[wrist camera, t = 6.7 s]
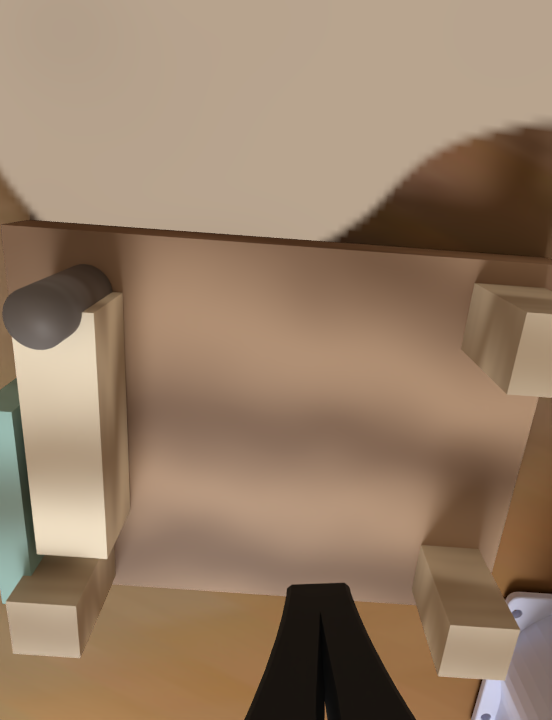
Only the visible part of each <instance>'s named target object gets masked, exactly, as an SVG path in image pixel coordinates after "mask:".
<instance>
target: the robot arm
mask: <svg viewBox="0 0 552 720" xmlns="http://www.w3.org/2000/svg"><path fill="white" fill-rule="evenodd" d="M505 601H506V603H507V605H508V607H509V609H510V611H511V613H512V615H513V617H514V618H515V620H516V622H517V624H518V626H519V628H520V633H519V636H518V639H517V643H516V646H515V649H514V652H513V656H512V659H511V662H510V665H509V669H508V672H507V675H506V678H505V681H502V680H487V679H483V680H482V684H481V687H480V691H479V694H478V698H477V701H476V705H475V708H474V711H473V715H472V718H471V720H552V594H545V593H531V592H513V593H510V594H509V595H508V596H507V598H506V600H505ZM514 610H516V611H514ZM325 706H326V712H327V719H328V720H416V719H415V717H414V716H413V714H412V713H411V711H410V709H409V708H408V706H407V705H406V703H405V701H404V700H403V698H402V696H401V695H400V693H399V691H398V690H397V688H396V686H395V685H394V683H393V681H392V679H391V678H390V676H389V674H388V672H387V670H386V669H385V667H384V665H383V663H382V661H381V659H380V657H379V655H378V653H377V652H376V650H375V648H374V646H373V644H372V642H371V640H370V638H369V636H368V634H367V631H366V629H365V627H364V625H363V623H362V620H361V618H360V616H359V613H358V611H357V608H356V606H355V603H354V600H353V597H352V594H351V591H350V587H349V586H348V585H347V584H346V583H319V584H293V585H291V586H289V587H288V588H287V592H286V600H285V605H284V610H283V615H282V619H281V622H280V626H279V630H278V633H277V637H276V640H275V643H274V646H273V649H272V651H271V654H270V657H269V660H268V663H267V666H266V669H265V672H264V674H263V677H262V679H261V682H260V684H259V687H258V689H257V691H256V694H255V696H254V699H253V701H252V704H251V706H250V708H249V711H248V713H247V715H246V717H245V719H244V720H324V716H325Z"/></svg>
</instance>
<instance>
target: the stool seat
mask: <svg viewBox="0 0 552 720" xmlns="http://www.w3.org/2000/svg"><path fill="white" fill-rule="evenodd" d="M1 234H2V243H3V252H4V261H5V270H6V279H7V288H8V296H9V295H10V294H11V293H12V292H14V291H15V290H17V289H20V288H22V287H24V286H27V285H29V284H32V283H34V282H36V281H39V280H41V279H44V278H46V277H48V276H51V275H53V274H56V273H58V272H60V271H63V270H65V269H68V268H70V267H72V266H75V265H79V264H87V265H92V266H94V267H96V268H98V269H99V270H101V271H102V272H103V273H104V274H105V275H106V276H107V278H108V279H109V281H110V283H111V286H112V292H118V293H123V320H124V348H125V376H126V404H127V433H128V461H129V489H130V512H129V514H128V516H127V518H126V520H125V523H124V525H123V527H122V529H121V531H120V533H119V535H118V538H117V540H116V542H115V544H114V546H113V548H112V550H111V552H110V555H109V557H108V559H99V558H84V557H70V556H55V555H40V554H37V550H36V542H35V533H34V524H33V515H32V507H31V498H30V489H29V480H28V472H27V463H26V454H25V445H24V437H23V428H22V419H21V410H20V402H19V393H18V384H17V378H16V379H14V380H13V381H12V382H10V383H9V384H8V385H6V386H5V387H4V388H2V389H1V390H0V590H1V597H2V603H3V604H6V607H7V614H8V621H9V628H10V635H11V642H12V648H13V654H27V655H42V656H56V657H71V658H81V655H82V653H83V651H84V648H85V646H86V644H87V641H88V639H89V637H90V634H91V632H92V630H93V627H94V625H95V623H96V620H97V618H98V616H99V613H100V611H101V609H102V606H103V604H104V602H105V599H106V597H107V595H108V592H109V590H110V588H111V585H112V584H115V585H130V586H145V587H159V588H174V589H188V590H203V591H218V592H232V593H247V594H261V595H276V596H286V592H287V588H288V587H289V586H291V585H293V584H319V583H346V584H347V585H348V586H349V587H350V591H351V594H352V597H353V600H354V601H364V602H378V603H393V604H407V605H416V606H417V609H418V612H419V616H420V619H421V622H422V625H423V629H424V632H425V635H426V639H427V642H428V645H429V648H430V652H431V655H432V658H433V661H434V665H435V668H436V671H437V675H438V676H443V677H458V678H473V679H487V680H502V681H505V678H506V675H507V672H508V669H509V665H510V662H511V659H512V656H513V652H514V649H515V646H516V643H517V639H518V636H519V633H520V628H519V626H518V624H517V622H516V620H515V618H514V617H513V615H512V613H511V611H510V609H509V607H508V605H507V603H506V601H505V599H504V597H503V595H502V593H501V591H500V589H499V588H498V586H497V584H496V582H495V580H494V578H493V576H492V574H491V573H492V569H493V566H494V562H495V558H496V555H497V551H498V547H499V543H500V540H501V536H502V532H503V529H504V525H505V521H506V517H507V514H508V510H509V506H510V502H511V499H512V495H513V491H514V488H515V484H516V480H517V476H518V473H519V469H520V465H521V462H522V458H523V454H524V450H525V447H526V443H527V439H528V435H529V432H530V428H531V424H532V421H533V417H534V413H535V409H536V406H537V402H538V398H539V397H549V398H552V259H548V258H544V257H531V256H517V255H503V254H490V253H476V252H462V251H448V250H435V249H421V248H407V247H393V246H380V245H366V244H352V243H338V242H325V241H311V240H297V239H283V238H270V237H256V236H242V235H229V234H215V233H201V232H187V231H174V230H159V229H146V228H131V227H118V226H104V225H90V224H77V223H64V222H63V223H62V222H50V221H36V220H26V221H20V222H14V223H8V224H1Z"/></svg>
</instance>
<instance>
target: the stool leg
mask: <svg viewBox="0 0 552 720" xmlns="http://www.w3.org/2000/svg"><path fill="white" fill-rule="evenodd" d="M2 313H3V321H4V324H5V327H6V329H7V330H8V332H9V333H10V335H11V336H12V340H13V349H14V358H15V367H16V375H17V384H18V393H19V402H20V410H21V419H22V428H23V437H24V445H25V454H26V463H27V472H28V480H29V489H30V498H31V507H32V515H33V524H34V533H35V542H36V550H37V554H40V555H55V556H70V557H84V558H99V559H108V557H109V555H110V552H111V550H112V548H113V546H114V544H115V542H116V540H117V538H118V535H119V533H120V531H121V529H122V527H123V525H124V523H125V520H126V518H127V516H128V514H129V512H130V489H129V461H128V433H127V404H126V376H125V348H124V320H123V293H118V292H112V286H111V283H110V281H109V279H108V278H107V276H106V275H105V274H104V273H103V272H102V271H101V270H99V269H98V268H96V267H94V266H92V265H87V264H79V265H75V266H72V267H70V268H68V269H65V270H63V271H60V272H58V273H56V274H53V275H51V276H48V277H46V278H44V279H41V280H39V281H36V282H34V283H32V284H29V285H27V286H24V287H22V288H20V289H17V290H15V291H14V292H12V293H11V294H10V295H9V296H8V297H7V299H6V301H5V303H4V306H3V312H2Z"/></svg>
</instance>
